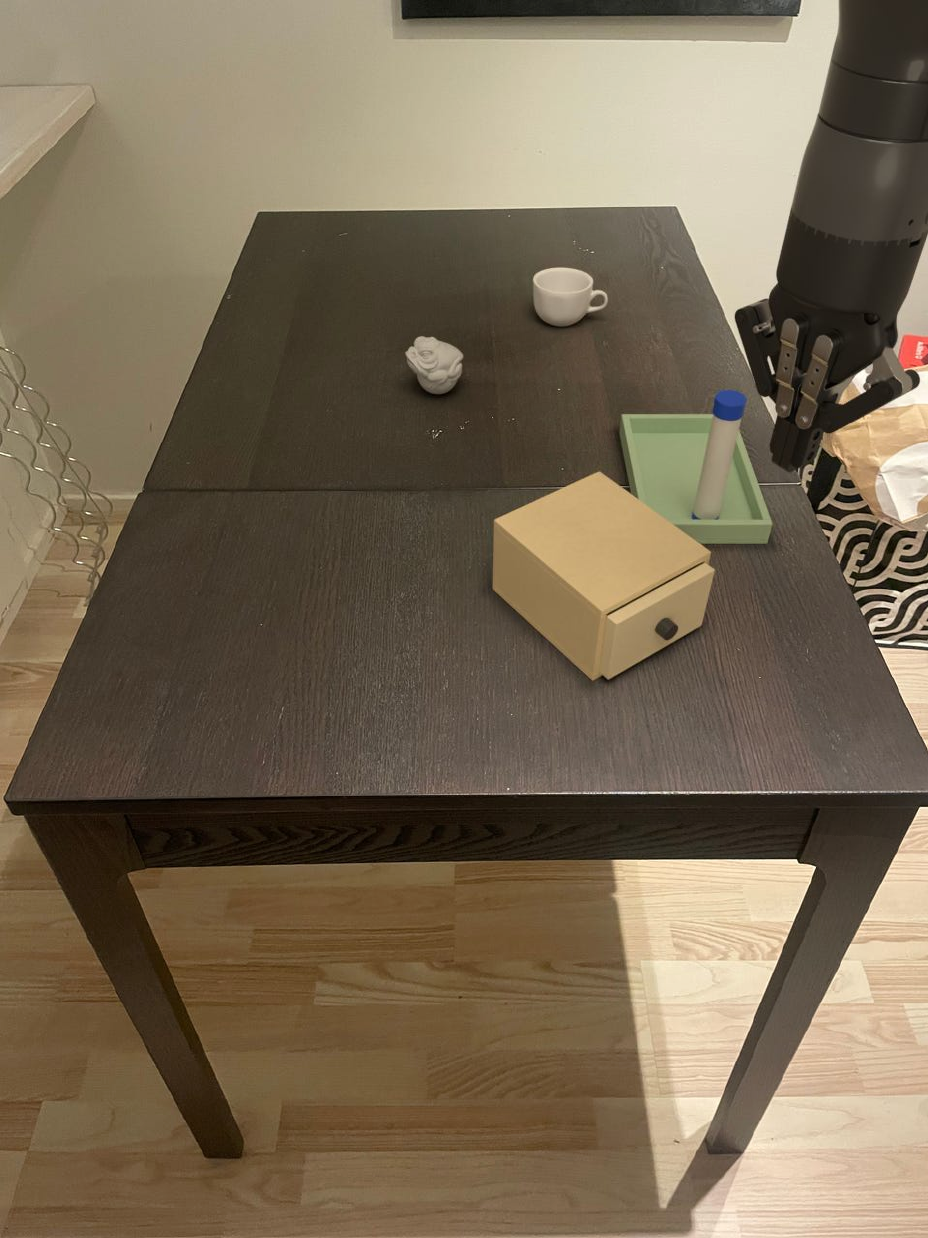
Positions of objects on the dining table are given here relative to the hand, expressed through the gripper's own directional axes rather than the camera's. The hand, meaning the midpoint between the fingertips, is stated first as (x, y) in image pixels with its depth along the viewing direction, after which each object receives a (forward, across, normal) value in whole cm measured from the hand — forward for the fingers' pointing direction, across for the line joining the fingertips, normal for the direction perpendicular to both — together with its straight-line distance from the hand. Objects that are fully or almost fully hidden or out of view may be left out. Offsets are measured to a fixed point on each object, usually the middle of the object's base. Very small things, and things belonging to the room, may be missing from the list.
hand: (789, 463), depth 65 cm
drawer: (+22, -12, -3) cm, 25 cm away
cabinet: (+23, -14, -3) cm, 27 cm away
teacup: (+23, -58, +31) cm, 70 cm away
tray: (+23, -22, +18) cm, 37 cm away
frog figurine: (+23, -54, +7) cm, 59 cm away
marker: (+22, -17, +15) cm, 32 cm away
